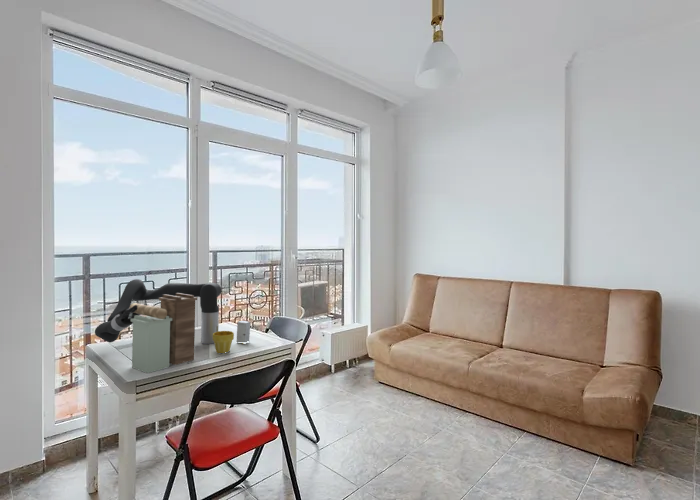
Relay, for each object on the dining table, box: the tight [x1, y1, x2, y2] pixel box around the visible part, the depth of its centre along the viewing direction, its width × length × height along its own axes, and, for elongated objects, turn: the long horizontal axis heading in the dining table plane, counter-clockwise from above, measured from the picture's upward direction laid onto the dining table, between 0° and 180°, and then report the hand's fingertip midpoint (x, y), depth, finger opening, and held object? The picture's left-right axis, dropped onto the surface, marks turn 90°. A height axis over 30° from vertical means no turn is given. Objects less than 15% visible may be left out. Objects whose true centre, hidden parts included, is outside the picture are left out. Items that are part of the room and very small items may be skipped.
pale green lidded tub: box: [131, 315, 172, 374], centre depth 171 cm, size 12×12×23 cm
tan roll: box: [129, 302, 167, 319], centre depth 172 cm, size 22×4×4 cm, turn 59°
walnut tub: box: [158, 293, 198, 366], centre depth 182 cm, size 12×12×31 cm
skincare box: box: [236, 320, 251, 342], centre depth 215 cm, size 6×4×12 cm
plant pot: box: [213, 330, 235, 354], centre depth 198 cm, size 10×10×10 cm
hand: (141, 306), depth 175 cm, fingers closed on tan roll, 4 cm apart
